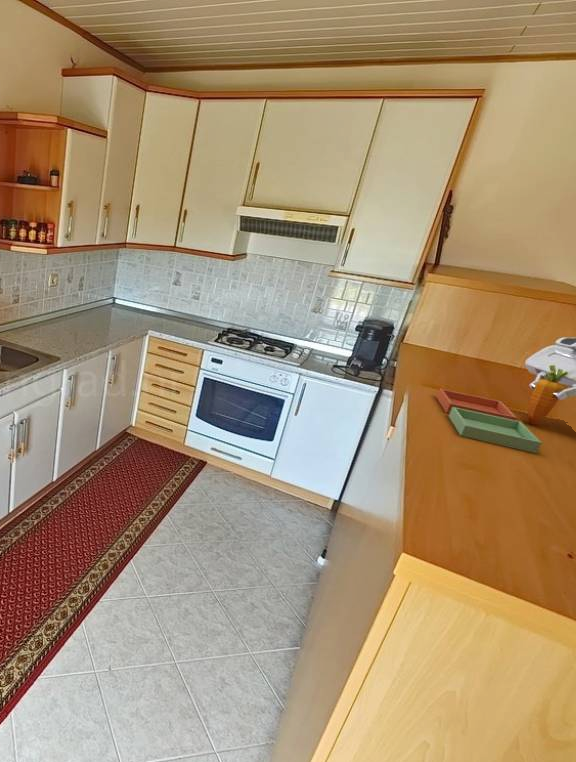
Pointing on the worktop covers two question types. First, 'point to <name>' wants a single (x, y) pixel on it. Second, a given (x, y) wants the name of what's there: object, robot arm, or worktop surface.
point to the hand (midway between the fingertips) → (544, 392)
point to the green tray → (494, 430)
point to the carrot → (545, 395)
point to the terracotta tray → (473, 404)
